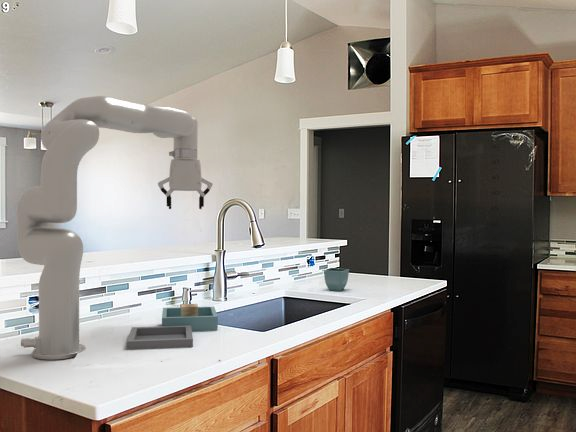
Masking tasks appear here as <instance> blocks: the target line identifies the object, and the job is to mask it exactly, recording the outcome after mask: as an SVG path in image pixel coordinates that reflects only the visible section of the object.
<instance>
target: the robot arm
mask: <svg viewBox="0 0 576 432" xmlns="http://www.w3.org/2000/svg"><path fill="white" fill-rule="evenodd" d="M99 128H100V129H101V128H103V129H109V130H117V131H120V132H125V133H132V134H151V133H152V134H153V135H154V136H155V137H157V138H161V139H168V138H169V139H171V138H172V139H173V150H171V151H168V156H170V157H172V158H173V159H171V160H170V162H169V163H170V164H169V175H168V177H167V178H165V179H162V180H159V182H157V186H158V187H159V189H160V192H162V193H163V194H164V195H165V196H166V207H168V209H169V210H171V209H172V196H171V194H173V192H174V191H179V192H181V191H183V192H194V191H195V192H197V193H198V194H199V197H198V209H199V210H202V208H204V205H205V198H204V197H205V196H206V195H207V194H208V193H209V192H210V190H211V189H212V187H213V182H210V181H209V180H207V179H205V178H203V177H202V166H201V160H200V159H198V120H197V118H195V117H193V116H192V115H191V114H190V113H189V112H188V111H185V110H182V109H178V108H173V107H166V106H160V105H159V106H158V105H153V104H143V103H138V102H132V101H128V100H122V99H121V98H120V99H119V98H115V97H110V96H106V95H96V96H95V95H94V96H88V97H86V96H85V97H81V98H78V99H76V100H74V101H72V102H71V103H69V104H68V105H66V107H65V108H63V110H61V111H60V112H59V113H57V114H56V115H54V117H53V118H51V119H50V120H49V121H48V122H47V123H46V124H45V125H44V126H43V128H42V130H41V134H40V141H41V144H42V145H43V148H45V149H46V151H45V153H44V154H43V157H42V161H41V165H40V168H41V169H40V185H34V186H31V187H29V188H27V189H25V190H24V191H23V192H22V193H21V195H20V197H19V200H18V202H17V211H16V215H17V219H16V220H17V222H16V223H17V224H16V228H17V234H16V235H17V248H18V252H19V253H18V254H19V255H20V257H21V258H22V259H23V260H24V261H25V262H27V263H29V264H33V265H37V266H43V269H42V271H41V274H40V276H39V279H38V280H39V281H38V336H34V338H26V337H25V338H21V340H20V346H21V347H23V348H34V349H33V350H32V353H31V354H32V357H33V358H35V359H39V360H46V361H47V360H48V361H50V360H53V361H54V360H65V359H71V358H75V357H76V356H77V355H78V354H79V353H82V352H84V351H85V350H86V347H87V346H86V345H85V344H81V343H80V272H81V265H82V260H83V256H84V244H83V241H82V238H81V237H80V236H79V235H78V233H76V232H74V231H72V230H70V229H66V228H53V227H52V224H63V223H64V224H65V223H68V222H70V221H72V220H74V218H75V216H76V215H77V210H78V171H79V169H78V168H79V165H80V163H81V161H82V159H83V157H84V156H85V155H86V154H87V153H88V152H89V151H90V150H92V149H93V148H95V146H96V145H97V144H98V141H99V139H100V138H99V137H100V129H99ZM167 183H168V186H169V190H168V191H167V190H166V188H165V187H164V185H165V184H167ZM202 184H204V185H206V188H205V190H203V189H202Z"/></svg>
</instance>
